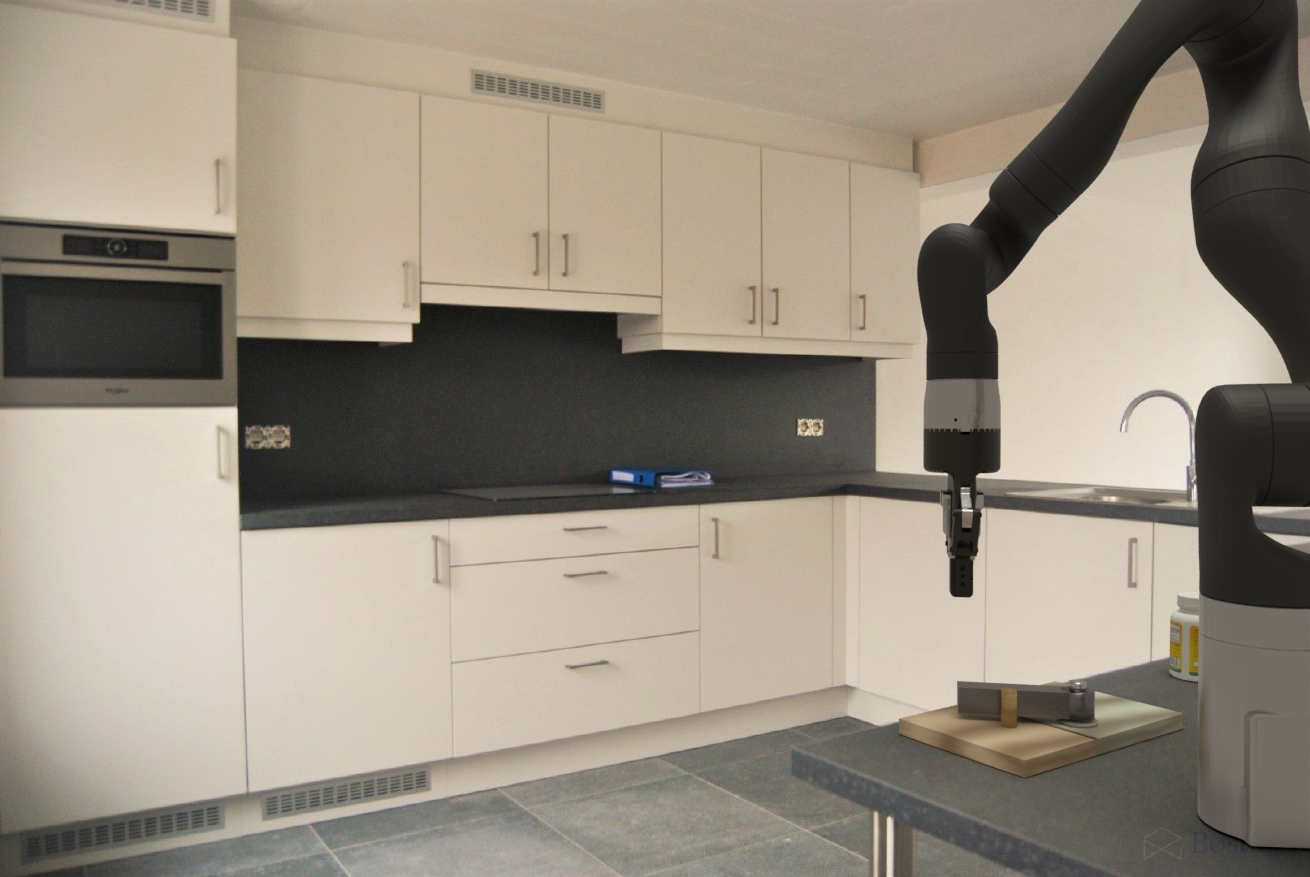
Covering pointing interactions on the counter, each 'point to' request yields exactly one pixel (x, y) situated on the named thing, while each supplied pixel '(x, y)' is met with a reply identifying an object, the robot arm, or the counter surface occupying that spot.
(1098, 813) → the counter surface
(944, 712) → the lock plate
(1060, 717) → the lock bar
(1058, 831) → the counter surface
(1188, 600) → the supplement bottle
